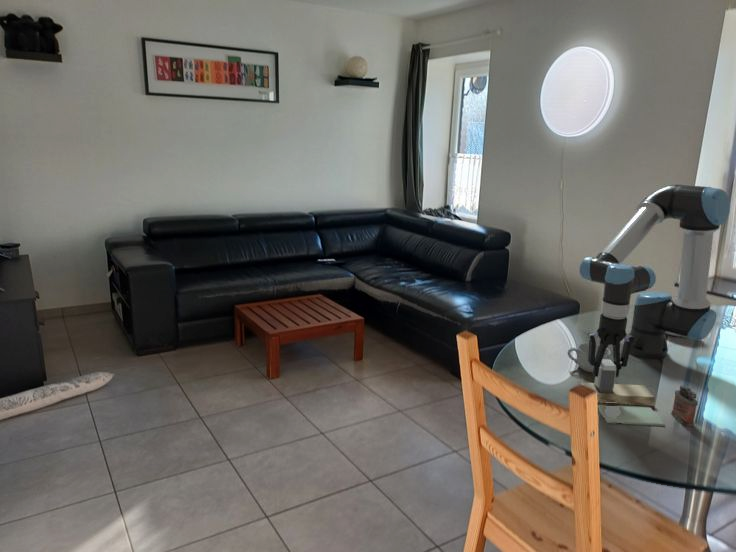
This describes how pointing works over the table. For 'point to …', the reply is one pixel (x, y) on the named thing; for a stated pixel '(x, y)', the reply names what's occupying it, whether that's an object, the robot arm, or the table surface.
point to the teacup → (585, 356)
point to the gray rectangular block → (607, 376)
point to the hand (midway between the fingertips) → (604, 385)
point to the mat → (633, 416)
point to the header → (625, 394)
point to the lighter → (684, 406)
